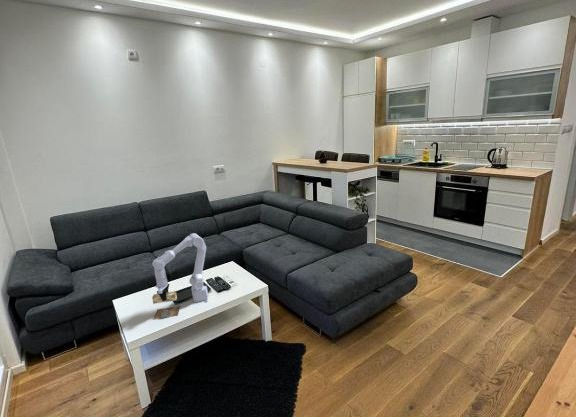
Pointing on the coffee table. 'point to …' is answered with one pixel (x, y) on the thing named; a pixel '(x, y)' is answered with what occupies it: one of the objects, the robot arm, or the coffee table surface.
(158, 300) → the beech bar
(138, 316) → the coffee table surface
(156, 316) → the board
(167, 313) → the gray stepped block
